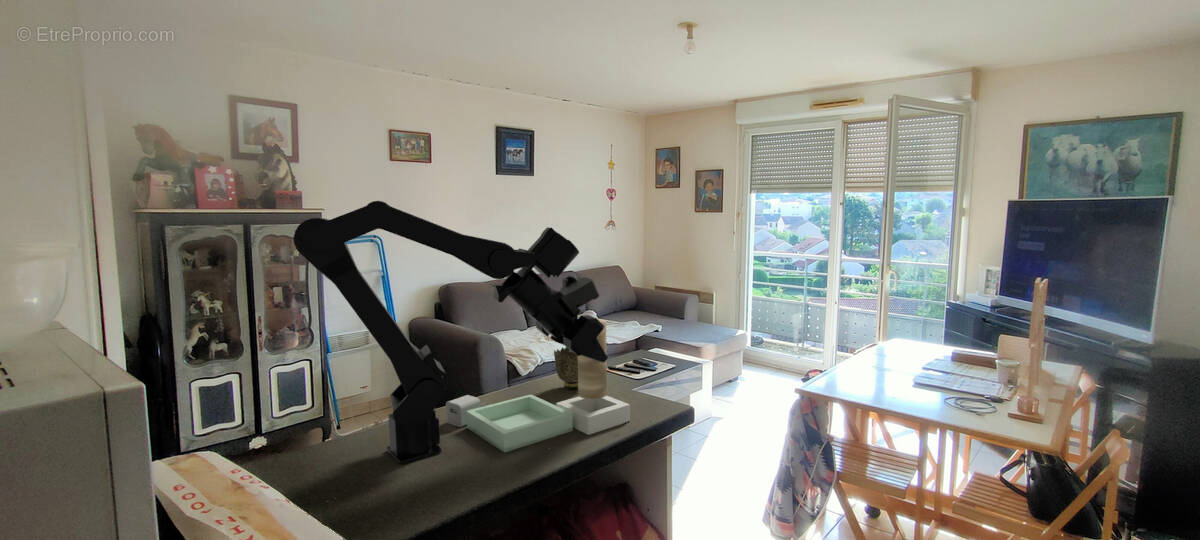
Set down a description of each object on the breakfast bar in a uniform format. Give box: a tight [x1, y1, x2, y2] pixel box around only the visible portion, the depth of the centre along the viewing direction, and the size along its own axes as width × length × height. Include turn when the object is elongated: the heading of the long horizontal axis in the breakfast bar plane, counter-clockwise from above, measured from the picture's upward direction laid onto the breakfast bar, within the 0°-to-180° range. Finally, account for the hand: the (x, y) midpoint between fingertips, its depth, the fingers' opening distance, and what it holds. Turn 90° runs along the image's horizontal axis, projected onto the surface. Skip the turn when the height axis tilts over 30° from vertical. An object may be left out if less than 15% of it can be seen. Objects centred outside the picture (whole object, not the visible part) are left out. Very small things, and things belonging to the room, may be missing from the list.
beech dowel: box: [577, 318, 608, 399], centre depth 97 cm, size 5×5×13 cm
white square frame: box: [555, 394, 631, 436], centre depth 98 cm, size 9×9×3 cm
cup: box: [553, 346, 578, 391], centre depth 116 cm, size 8×7×8 cm
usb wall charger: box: [445, 394, 489, 428], centre depth 99 cm, size 4×7×4 cm, turn 143°
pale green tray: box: [466, 394, 574, 453], centre depth 94 cm, size 13×13×3 cm
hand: (599, 356), depth 97 cm, fingers closed on beech dowel, 5 cm apart
